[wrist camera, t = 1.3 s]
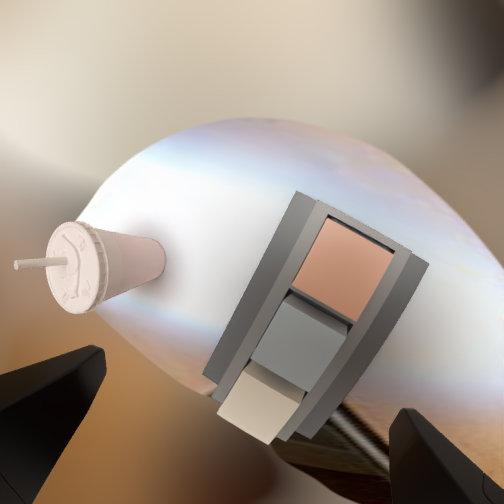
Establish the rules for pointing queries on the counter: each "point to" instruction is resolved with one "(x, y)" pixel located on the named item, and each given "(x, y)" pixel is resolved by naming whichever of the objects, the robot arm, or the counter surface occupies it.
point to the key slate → (300, 342)
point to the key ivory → (261, 402)
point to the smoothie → (95, 265)
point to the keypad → (280, 287)
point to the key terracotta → (342, 269)
